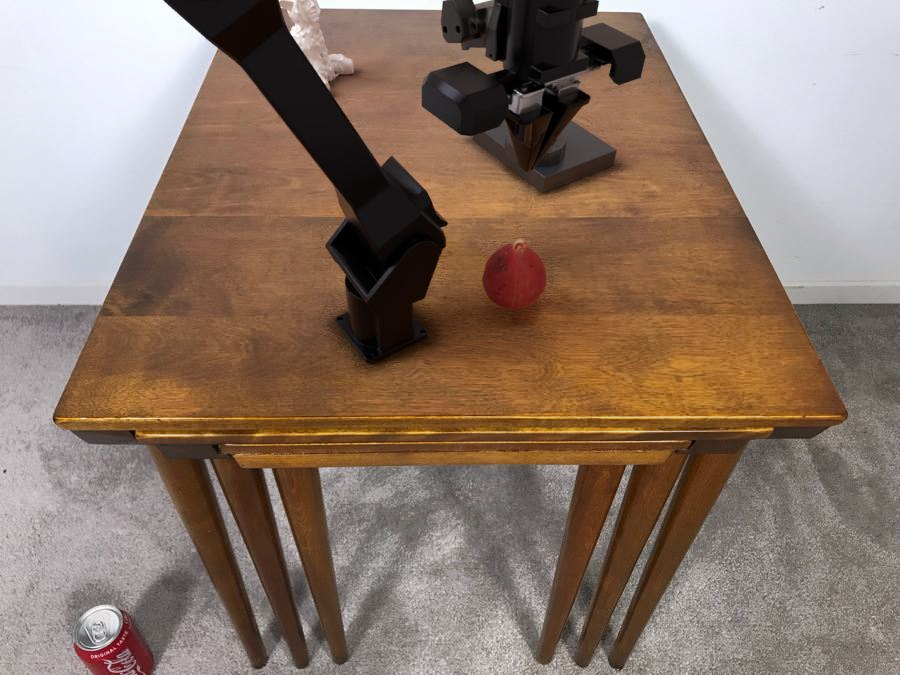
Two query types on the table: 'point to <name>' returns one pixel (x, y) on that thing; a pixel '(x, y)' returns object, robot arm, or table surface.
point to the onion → (514, 276)
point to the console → (553, 156)
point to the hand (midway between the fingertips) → (526, 169)
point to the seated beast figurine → (315, 40)
